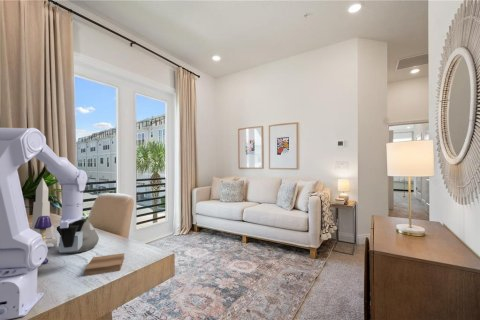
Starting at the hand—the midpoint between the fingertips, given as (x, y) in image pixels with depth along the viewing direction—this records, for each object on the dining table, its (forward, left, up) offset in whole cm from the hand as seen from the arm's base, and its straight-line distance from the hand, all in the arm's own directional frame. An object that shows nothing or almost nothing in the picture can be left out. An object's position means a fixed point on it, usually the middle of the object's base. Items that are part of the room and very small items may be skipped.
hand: (71, 244), depth 74 cm
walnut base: (-3, -11, -8) cm, 14 cm away
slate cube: (0, 0, -2) cm, 2 cm away
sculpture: (+25, +18, -8) cm, 32 cm away
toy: (+20, +3, -8) cm, 22 cm away
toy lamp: (+8, +11, -8) cm, 16 cm away
